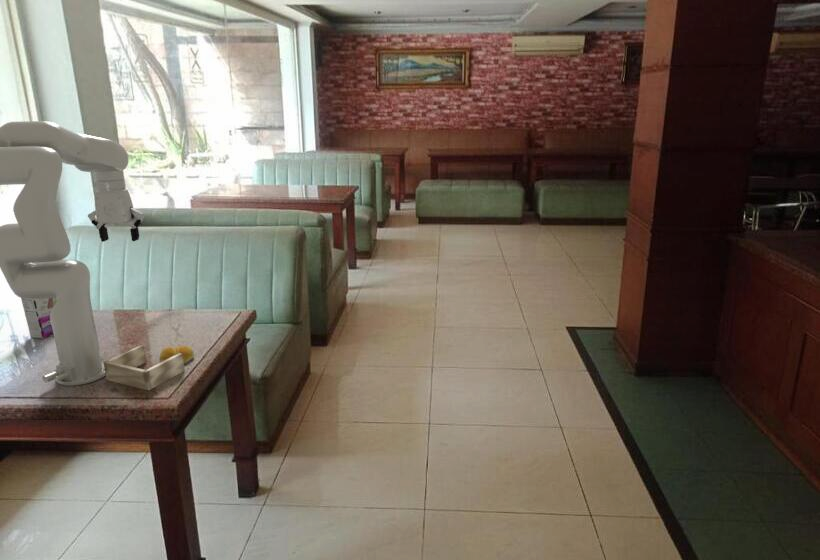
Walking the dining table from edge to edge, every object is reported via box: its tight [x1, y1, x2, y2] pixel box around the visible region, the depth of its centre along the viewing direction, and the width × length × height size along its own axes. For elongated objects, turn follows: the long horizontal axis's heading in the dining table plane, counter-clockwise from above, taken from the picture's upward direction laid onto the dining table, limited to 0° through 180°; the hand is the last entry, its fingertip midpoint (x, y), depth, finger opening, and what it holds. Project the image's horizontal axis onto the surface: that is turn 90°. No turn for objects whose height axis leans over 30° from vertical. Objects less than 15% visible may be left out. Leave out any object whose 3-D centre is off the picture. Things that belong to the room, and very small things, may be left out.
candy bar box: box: [20, 298, 57, 339], centre depth 181 cm, size 11×5×16 cm, turn 170°
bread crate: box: [102, 344, 186, 391], centre depth 152 cm, size 12×15×5 cm
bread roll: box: [158, 345, 195, 364], centre depth 162 cm, size 8×9×4 cm
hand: (120, 240), depth 181 cm, fingers open, 9 cm apart
